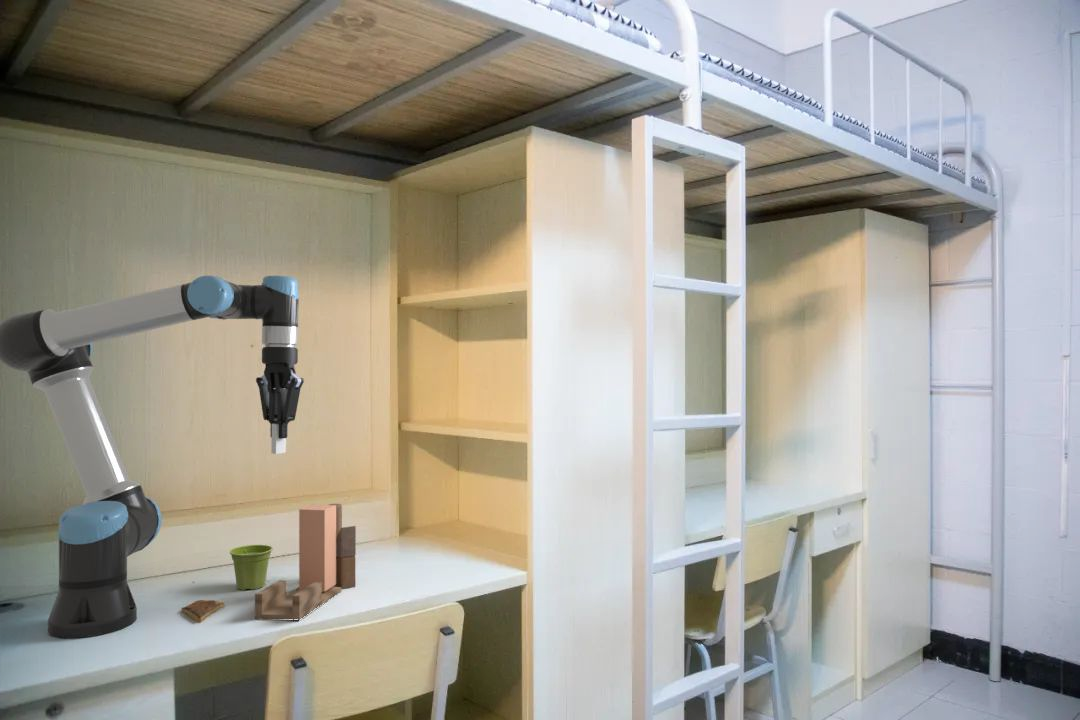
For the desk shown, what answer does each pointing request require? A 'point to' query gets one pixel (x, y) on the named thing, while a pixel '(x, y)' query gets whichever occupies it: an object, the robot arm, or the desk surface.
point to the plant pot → (251, 565)
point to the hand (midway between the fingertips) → (278, 453)
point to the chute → (290, 600)
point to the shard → (202, 609)
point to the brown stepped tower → (345, 552)
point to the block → (317, 546)
